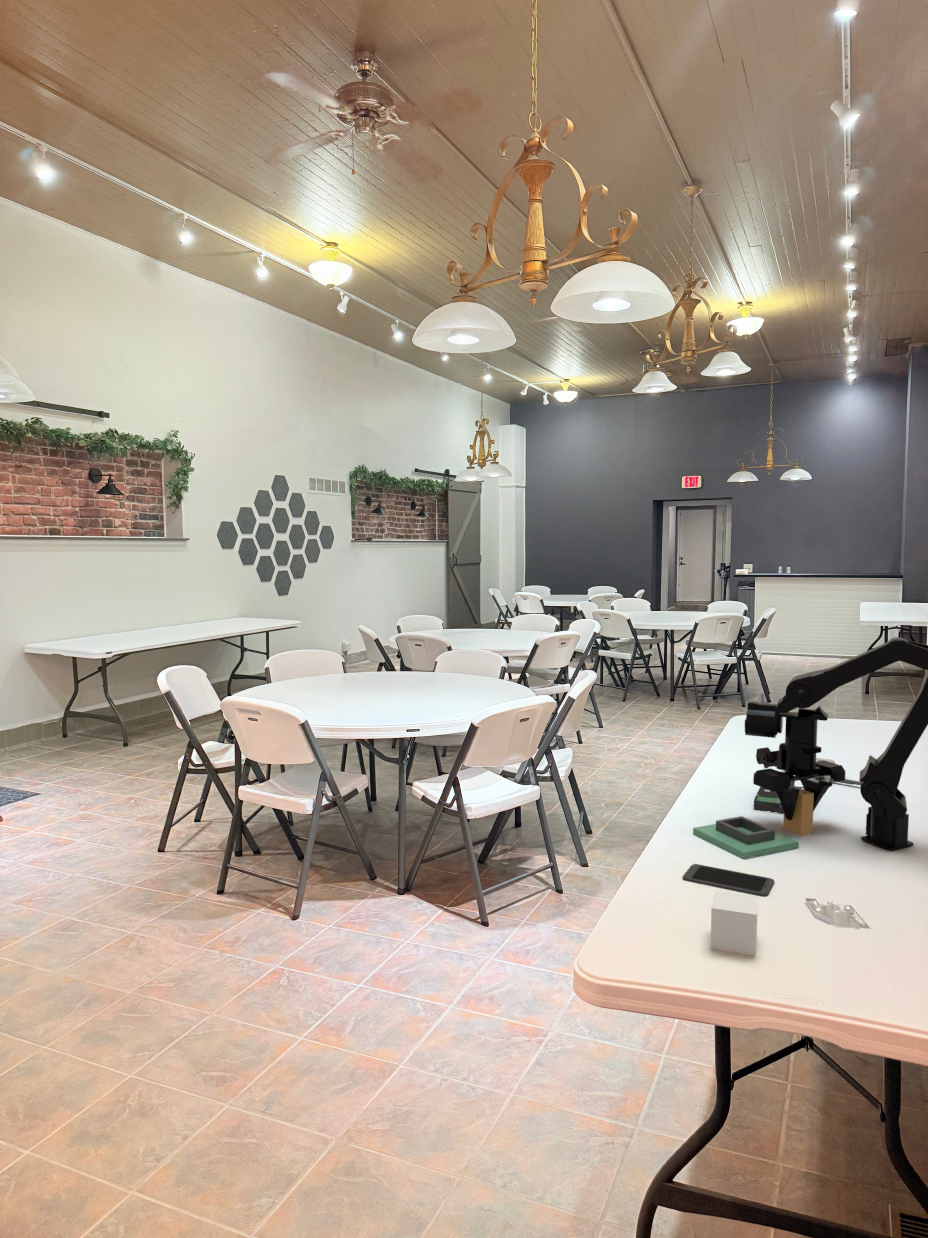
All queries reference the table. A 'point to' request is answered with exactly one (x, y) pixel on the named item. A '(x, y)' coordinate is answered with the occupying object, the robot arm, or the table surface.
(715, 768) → the table surface
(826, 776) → the red and grey actuator
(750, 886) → the cell phone
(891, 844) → the robot arm
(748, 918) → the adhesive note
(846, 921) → the stamped metal plate
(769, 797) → the disk drive
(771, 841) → the board
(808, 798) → the plug
